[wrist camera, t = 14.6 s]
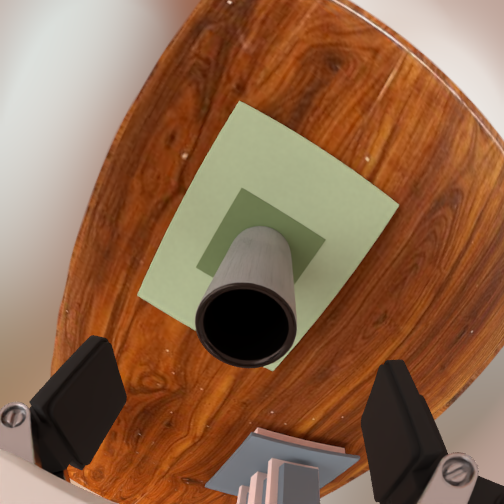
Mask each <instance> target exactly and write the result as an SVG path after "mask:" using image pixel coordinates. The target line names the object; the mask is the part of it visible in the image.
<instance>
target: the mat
mask: <svg viewBox="0 0 504 504" xmlns="http://www.w3.org/2000/svg"><path fill="white" fill-rule="evenodd" d="M398 207H399V204H398V203H396V202H395V201H394V200H392V199H391V198H390V197H389V196H387V195H386V194H385V193H383V192H382V191H381V190H380V189H378V188H377V187H376V186H374V185H373V184H372V183H370V182H369V181H367V180H366V179H365V178H363V177H362V176H361V175H359V174H358V173H356V172H355V171H354V170H352V169H351V168H349V167H348V166H346V165H345V164H344V163H342V162H341V161H339V160H338V159H336V158H335V157H333V156H332V155H330V154H329V153H327V152H326V151H324V150H323V149H321V148H320V147H318V146H317V145H315V144H313V143H312V142H310V141H309V140H307V139H306V138H304V137H302V136H301V135H299V134H297V133H296V132H294V131H293V130H291V129H289V128H288V127H286V126H284V125H282V124H281V123H279V122H277V121H276V120H274V119H272V118H270V117H269V116H267V115H265V114H263V113H261V112H260V111H258V110H256V109H254V108H252V107H250V106H249V105H247V104H245V103H243V102H241V101H239V102H238V104H237V106H236V107H235V109H234V110H233V112H232V114H231V115H230V117H229V118H228V120H227V122H226V123H225V125H224V127H223V128H222V130H221V132H220V133H219V135H218V137H217V139H216V140H215V142H214V144H213V145H212V147H211V149H210V151H209V152H208V154H207V156H206V158H205V159H204V161H203V163H202V165H201V167H200V168H199V170H198V172H197V174H196V176H195V177H194V179H193V181H192V183H191V185H190V187H189V189H188V190H187V192H186V194H185V196H184V198H183V200H182V202H181V204H180V206H179V208H178V210H177V212H176V214H175V215H174V217H173V219H172V221H171V223H170V225H169V227H168V229H167V232H166V234H165V236H164V238H163V240H162V242H161V244H160V246H159V248H158V250H157V252H156V254H155V257H154V259H153V261H152V263H151V265H150V267H149V270H148V272H147V274H146V276H145V278H144V281H143V283H142V285H141V288H140V290H139V292H138V294H137V295H138V296H139V297H141V298H142V299H144V300H146V301H147V302H149V303H150V304H152V305H154V306H155V307H157V308H158V309H160V310H162V311H163V312H165V313H167V314H168V315H170V316H171V317H173V318H175V319H177V320H178V321H180V322H182V323H183V324H185V325H187V326H188V327H190V328H192V329H194V330H195V331H196V328H195V315H196V311H197V308H198V306H199V304H200V302H201V300H202V298H203V296H204V294H205V292H206V290H207V288H208V287H209V285H210V283H211V281H212V279H213V277H214V276H215V274H216V272H217V270H218V268H219V266H220V265H221V263H222V261H223V259H224V257H225V255H226V254H227V252H228V250H229V248H230V246H231V244H232V243H233V241H234V240H235V238H236V237H237V236H238V235H239V234H240V233H241V232H242V231H244V230H246V229H248V228H250V227H255V226H265V227H269V228H272V229H274V230H276V231H278V232H279V233H280V234H281V235H282V236H283V237H284V238H285V239H286V241H287V243H288V245H289V248H290V251H291V259H292V269H293V280H294V291H295V303H296V315H297V334H296V338H295V341H294V343H293V345H292V347H291V348H290V350H289V351H288V352H287V353H286V354H285V355H284V356H283V357H282V358H280V359H279V360H277V361H276V362H274V363H272V364H269V365H266V366H263V367H265V368H267V369H269V370H271V371H274V370H275V368H276V367H277V366H278V365H279V364H280V363H281V362H282V360H283V359H284V358H285V357H286V356H287V355H288V354H289V352H290V351H291V350H292V349H293V348H294V347H295V345H296V344H297V343H298V342H299V341H300V339H301V338H302V337H303V336H304V335H305V333H306V332H307V331H308V330H309V329H310V327H311V326H312V325H313V324H314V323H315V321H316V320H317V319H318V318H319V316H320V315H321V314H322V313H323V311H324V310H325V309H326V308H327V306H328V305H329V304H330V302H331V301H332V300H333V299H334V297H335V296H336V295H337V293H338V292H339V291H340V289H341V288H342V287H343V285H344V284H345V283H346V281H347V280H348V279H349V277H350V276H351V275H352V273H353V272H354V271H355V269H356V268H357V267H358V265H359V264H360V262H361V261H362V260H363V258H364V257H365V255H366V254H367V253H368V251H369V250H370V248H371V247H372V245H373V244H374V243H375V241H376V240H377V238H378V237H379V235H380V234H381V232H382V231H383V229H384V228H385V226H386V225H387V223H388V222H389V220H390V219H391V217H392V216H393V214H394V213H395V211H396V210H397V208H398Z"/></svg>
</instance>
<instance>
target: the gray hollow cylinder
mask: <svg viewBox="0 0 504 504" xmlns="http://www.w3.org/2000/svg"><path fill="white" fill-rule="evenodd" d="M195 328H196V332H197V335H198V338H199V340H200V342H201V343H202V345H203V346H204V347H205V349H206V350H207V351H208V352H209V353H210V354H211V355H213V356H214V357H215V358H217V359H218V360H220V361H222V362H224V363H226V364H229V365H232V366H236V367H241V368H258V367H263V366H266V365H269V364H272V363H274V362H276V361H277V360H279V359H280V358H282V357H283V356H284V355H285V354H286V353H287V352H288V351H289V350H290V348H291V347H292V345H293V343H294V341H295V338H296V334H297V315H296V303H295V291H294V280H293V269H292V259H291V251H290V248H289V245H288V243H287V241H286V239H285V238H284V237H283V236H282V235H281V234H280V233H279V232H278V231H276V230H274V229H272V228H269V227H265V226H255V227H250V228H248V229H246V230H244V231H242V232H241V233H240V234H239V235H238V236H237V237H236V238H235V240H234V241H233V243H232V244H231V246H230V248H229V250H228V252H227V254H226V255H225V257H224V259H223V261H222V263H221V265H220V266H219V268H218V270H217V272H216V274H215V276H214V277H213V279H212V281H211V283H210V285H209V287H208V288H207V290H206V292H205V294H204V296H203V298H202V300H201V302H200V304H199V306H198V308H197V311H196V315H195Z"/></svg>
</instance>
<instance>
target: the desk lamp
mask: <svg viewBox="0 0 504 504" xmlns="http://www.w3.org/2000/svg"><path fill="white" fill-rule="evenodd" d="M359 459H360V456H357V455H350V454H345V448H342V447H336V446H331V445H326V444H321V443H316V442H312V441H307V440H303V439H299V438H295V437H291V436H287V435H283V434H280V433H276V432H272V431H269V430H265V429H262V428H259V427H258V428H257V429H256V430H255V431H254V432H251V433H250V435H249V436H248V437H247V438H246V439H245V441H244V442H243V443H242V444H241V445H240V447H239V448H238V449H237V450H236V451H235V452H234V454H233V455H232V456H231V457H230V458H229V459H228V460H227V461H226V463H225V464H224V465H223V466H222V467H221V468H220V469H219V470H218V471H217V473H216V474H215V475H214V476H213V477H212V478H211V479H210V480H209V481H208V482H207V483H206V484H205V487H207V488H210V489H213V490H217V491H220V492H224V493H228V494H232V495H236V496H238V500H237V504H320V491H319V489H321V488H322V487H323V486H325V485H326V484H328V483H329V482H331V481H332V480H333V479H335V478H336V477H337V476H339V475H340V474H341V473H343V472H344V471H345V470H347V469H348V468H349V467H351V466H352V465H353V464H354V463H356V462H357V461H358V460H359Z"/></svg>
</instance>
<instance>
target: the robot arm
mask: <svg viewBox="0 0 504 504" xmlns="http://www.w3.org/2000/svg"><path fill="white" fill-rule="evenodd" d="M126 399H127V396H126V392H125V389H124V386H123V383H122V380H121V376H120V373H119V370H118V366H117V363H116V359H115V356H114V352H113V349H112V345H111V344H110V343H109V342H108V340H107V339H106V338H103V337H98V336H94V335H93V336H90V337H89V338H88V339H87V340H86V341H85V342H84V343H83V344H82V345H81V346H80V347H79V348H78V349H77V350H76V352H75V353H74V354H73V355H72V356H71V357H70V358H69V359H68V360H67V361H66V362H65V363H64V364H63V365H62V366H61V367H60V369H59V370H58V371H57V372H56V373H55V374H54V375H53V376H52V377H51V378H50V379H49V380H48V382H47V383H46V384H45V385H44V386H43V387H42V388H41V389H40V390H39V392H38V393H37V394H36V395H35V396H34V397H33V398H32V399H31V401H30V404H31V407H30V408H28V407H27V405H25V404H24V403H21V402H12V403H9V404H7V405H5V406H4V407H3V408H2V409H1V410H0V504H118V503H115V502H113V501H110V500H107V499H105V498H102V497H100V496H98V495H95V494H93V493H91V492H88V491H86V490H84V489H82V488H79V487H77V486H75V485H73V484H71V483H70V479H69V475H68V470H67V467H68V465H69V464H70V465H71V466H73V467H75V468H78V469H80V470H83V468H84V467H85V465H88V464H90V462H91V461H92V459H93V457H94V455H95V454H96V452H97V450H98V449H99V447H100V445H101V443H102V442H103V440H104V438H105V437H106V435H107V433H108V432H109V430H110V428H111V426H112V425H113V423H114V421H115V420H116V418H117V416H118V415H119V413H120V411H121V410H122V408H123V406H124V405H125V403H126ZM361 428H362V432H363V437H364V442H365V448H366V453H367V458H368V464H369V469H370V475H371V481H372V487H373V493H374V499H375V501H376V502H380V504H504V486H502V485H500V484H497V483H495V482H492V481H490V480H487V479H485V478H482V477H480V476H478V472H479V471H478V466H477V464H476V462H475V460H474V459H473V458H472V457H471V456H469V455H467V454H465V453H459V452H457V453H451V454H448V453H447V450H446V447H445V445H444V443H443V440H442V438H441V435H440V433H439V430H438V428H437V426H436V423H435V421H434V419H433V416H432V414H431V412H430V410H429V407H428V405H427V403H426V401H425V399H424V397H423V396H422V395H419V392H418V390H417V388H416V386H415V384H414V382H413V379H412V377H411V375H410V373H409V371H408V369H407V367H406V365H405V363H404V361H403V360H387V361H385V363H384V365H380V366H379V369H378V372H377V375H376V378H375V381H374V384H373V387H372V390H371V393H370V396H369V399H368V402H367V404H366V407H365V410H364V412H363V415H362V418H361Z"/></svg>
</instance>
